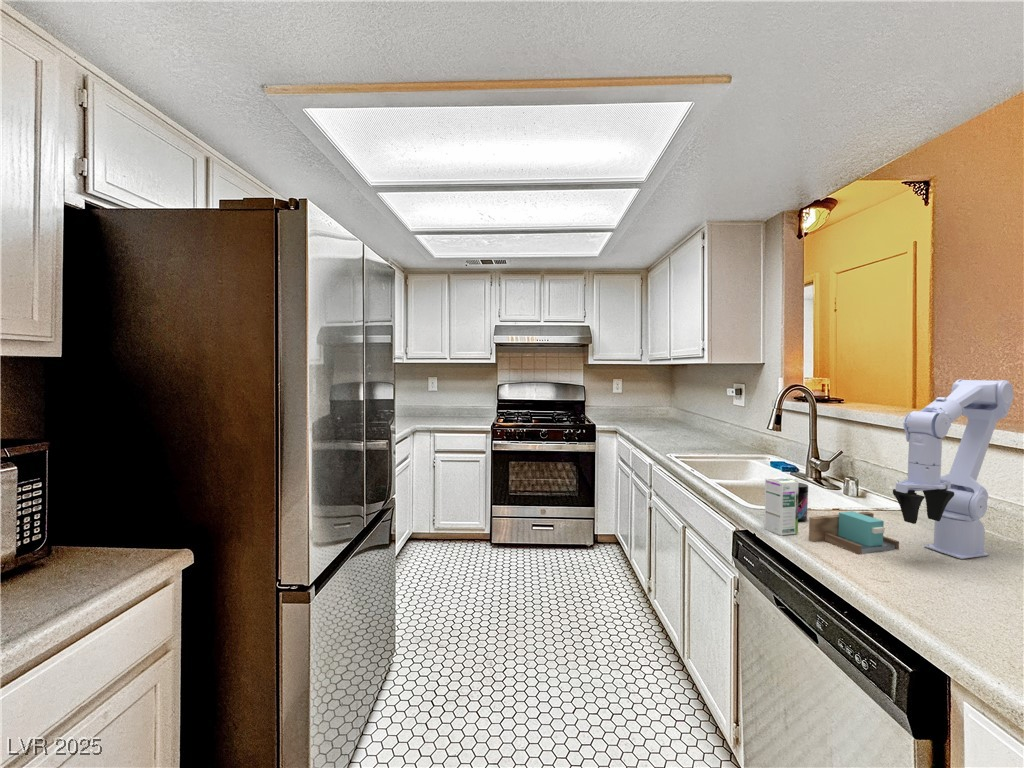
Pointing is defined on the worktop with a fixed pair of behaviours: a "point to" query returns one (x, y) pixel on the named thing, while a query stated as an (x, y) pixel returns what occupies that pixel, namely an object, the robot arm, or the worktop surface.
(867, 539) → the cabinet block
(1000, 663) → the worktop surface
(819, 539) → the wooden tray
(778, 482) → the syrup box
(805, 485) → the supplement container
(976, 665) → the worktop surface
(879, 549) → the grey flat plate
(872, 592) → the worktop surface
